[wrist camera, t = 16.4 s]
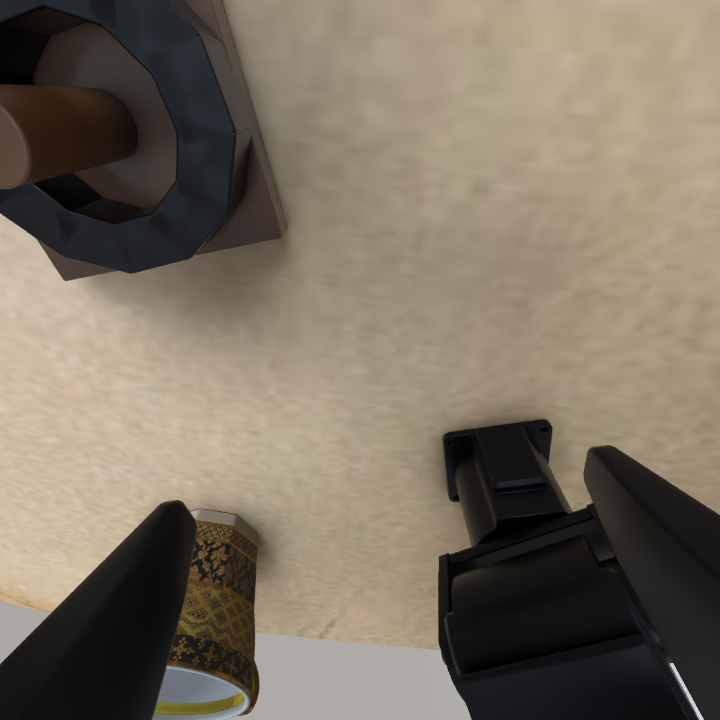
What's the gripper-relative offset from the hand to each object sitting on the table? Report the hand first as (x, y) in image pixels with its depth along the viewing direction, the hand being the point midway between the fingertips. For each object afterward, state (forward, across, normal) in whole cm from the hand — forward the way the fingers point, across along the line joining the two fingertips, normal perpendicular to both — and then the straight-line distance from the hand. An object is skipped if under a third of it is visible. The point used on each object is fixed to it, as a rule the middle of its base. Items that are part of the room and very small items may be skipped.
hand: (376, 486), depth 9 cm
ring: (+10, +8, -8) cm, 15 cm away
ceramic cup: (+12, +15, +20) cm, 28 cm away
